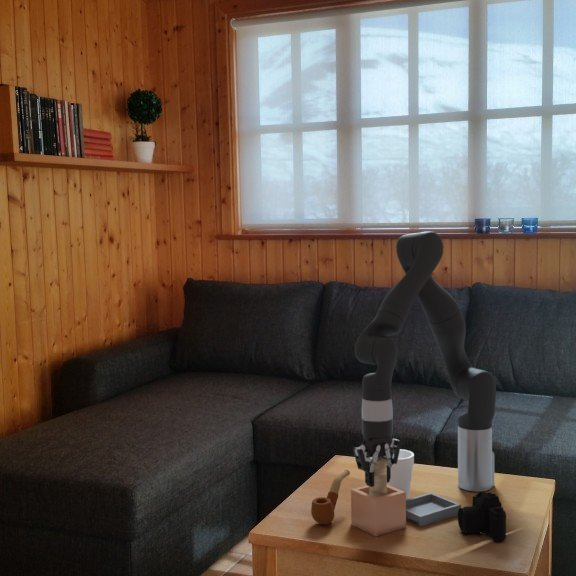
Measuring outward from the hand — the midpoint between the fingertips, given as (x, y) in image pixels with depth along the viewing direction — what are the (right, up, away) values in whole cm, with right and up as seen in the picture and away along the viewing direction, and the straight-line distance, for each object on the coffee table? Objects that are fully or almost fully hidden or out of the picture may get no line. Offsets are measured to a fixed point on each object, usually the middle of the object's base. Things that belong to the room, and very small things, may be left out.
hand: (377, 483), depth 196 cm
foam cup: (+7, -9, +18) cm, 21 cm away
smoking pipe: (-11, -11, +8) cm, 17 cm away
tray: (+13, -10, +8) cm, 19 cm away
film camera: (+25, -11, -3) cm, 27 cm away
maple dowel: (0, -10, +1) cm, 10 cm away
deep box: (0, -11, +1) cm, 11 cm away
